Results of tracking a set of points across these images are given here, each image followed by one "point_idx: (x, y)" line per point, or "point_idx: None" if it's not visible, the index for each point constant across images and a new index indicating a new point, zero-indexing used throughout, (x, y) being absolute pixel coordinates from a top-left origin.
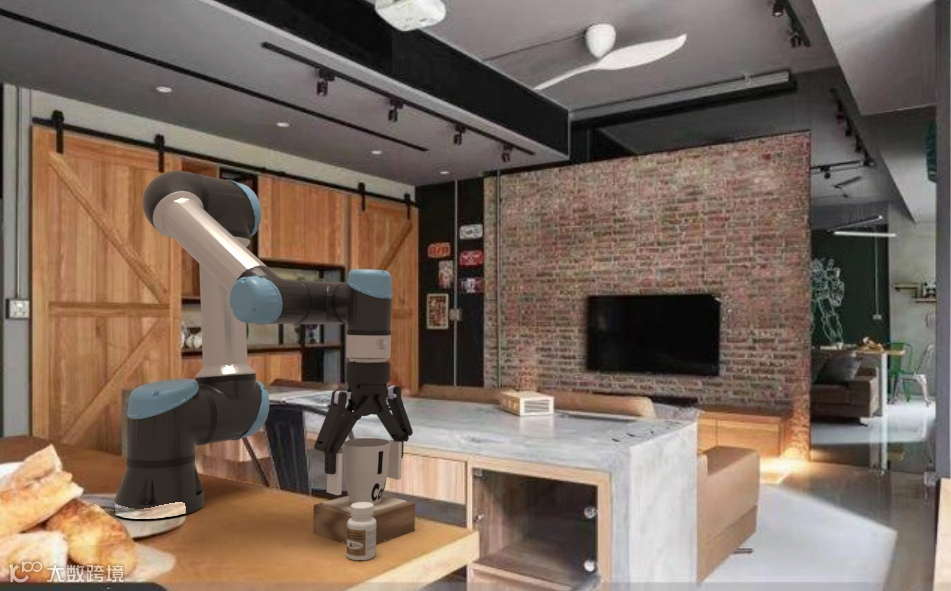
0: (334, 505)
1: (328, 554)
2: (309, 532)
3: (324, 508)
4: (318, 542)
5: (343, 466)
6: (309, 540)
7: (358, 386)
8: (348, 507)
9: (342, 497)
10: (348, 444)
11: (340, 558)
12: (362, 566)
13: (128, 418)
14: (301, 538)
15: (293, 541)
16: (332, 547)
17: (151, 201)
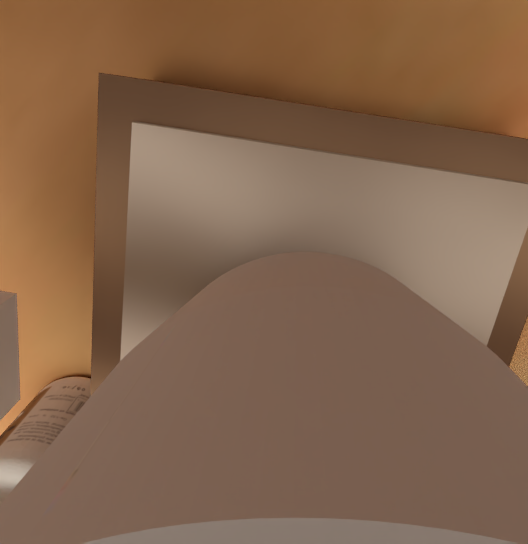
0: (131, 237)
1: (20, 318)
2: (145, 58)
3: (96, 184)
4: (80, 197)
5: (114, 368)
6: (71, 144)
7: None
8: (155, 327)
9: (298, 158)
10: (307, 457)
11: (24, 375)
12: None
13: None
14: (64, 91)
15: (15, 90)
16: (78, 284)
17: None
